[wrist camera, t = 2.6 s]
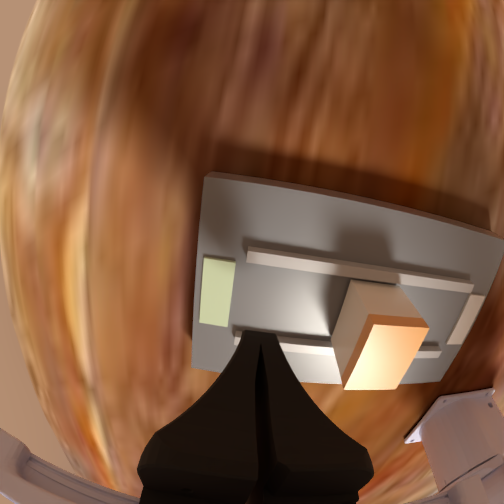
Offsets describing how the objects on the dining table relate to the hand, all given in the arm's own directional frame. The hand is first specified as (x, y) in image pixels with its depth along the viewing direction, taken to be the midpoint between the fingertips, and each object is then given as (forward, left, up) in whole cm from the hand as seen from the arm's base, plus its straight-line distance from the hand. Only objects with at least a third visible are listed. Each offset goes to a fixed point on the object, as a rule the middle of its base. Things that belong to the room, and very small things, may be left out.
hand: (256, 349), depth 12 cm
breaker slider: (-6, 0, -4) cm, 7 cm away
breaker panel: (-6, 0, -6) cm, 9 cm away
